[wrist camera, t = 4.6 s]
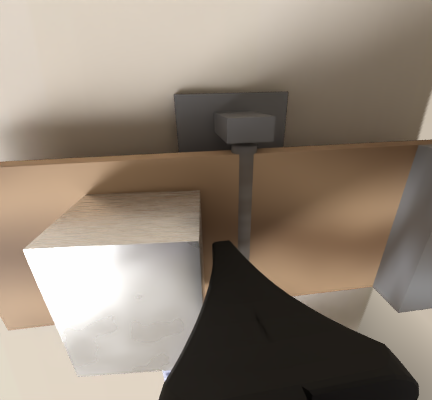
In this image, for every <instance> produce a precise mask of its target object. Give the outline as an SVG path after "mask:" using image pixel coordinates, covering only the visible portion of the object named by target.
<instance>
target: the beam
mask: <svg viewBox="0 0 432 400" xmlns="http://www.w3.org/2000/svg"><path fill="white" fill-rule="evenodd" d="M192 190H200V204H201V224H202V243H203V262H204V282H205V296H206V293H207V289H208V286H209V281H210V277H211V273H212V266H213V258H212V244H213V243H214V242H217V241H227V240H230V241H231V242H232V243H233V244H234V246H235V247H236V248H237V249H238V250H239V251H240V252H241V253H242V254H243V255H244V256H245V257H246V259H247V260H248V261H249V262H251V263H252V264H253V265H254V266H255V267H256V268H257V269H258V270H259V271H260V272H261V273H262V274H263V275H265V276H266V277H267V278H268V279H269V280H270V281H272V282H273V283H274V284H275V285H277V286H278V287H279V288H281V289H282V290H284V291H285V292H286V293H288V294H289V295H291V296H299V295H307V294H315V293H324V292H332V291H340V290H349V289H357V288H365V287H373V288H374V289H376V291H377V292H378V293H379V294H381V296H382V297H383V298H384V299H385V300H386V301H387V302H388V303H389V304H390V305H391V306H392V307H393V308H394V309H395V310H396V311H397V312H398V313H400V312H408V311H415V310H423V309H429V308H432V140H415V141H396V142H376V143H357V144H337V145H318V146H298V147H279V148H259V149H257V144H254V143H235V144H232V145H231V150H220V151H201V152H181V153H162V154H142V155H123V156H103V157H84V158H64V159H45V160H25V161H6V162H0V317H1V318H2V320H3V322H4V324H5V325H6V327H7V329H8V330H16V329H24V328H32V327H41V326H49V325H55V323H54V321H53V318H52V316H51V314H50V311H49V309H48V307H47V304H46V302H45V300H44V297H43V295H42V293H41V291H40V288H39V286H38V284H37V281H36V279H35V277H34V274H33V272H32V270H31V267H30V265H29V263H28V260H27V258H26V256H25V253H24V251H23V249H24V248H25V247H26V246H28V245H29V244H30V243H31V242H32V241H33V240H34V239H36V238H37V237H38V236H39V235H40V234H41V233H42V232H43V231H45V230H46V229H47V228H48V227H49V226H50V225H51V224H53V223H54V222H55V221H56V220H57V219H58V218H59V217H61V216H62V215H63V214H64V213H65V212H66V211H67V210H69V209H70V208H71V207H72V206H73V205H74V204H75V203H77V202H78V201H79V200H80V199H81V198H82V197H83V196H85V195H90V194H116V193H141V192H167V191H192Z"/></svg>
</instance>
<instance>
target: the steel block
mask: <svg viewBox="0 0 432 400" xmlns="http://www.w3.org/2000/svg"><path fill="white" fill-rule="evenodd" d="M23 251H24V253H25V256H26V258H27V260H28V263H29V265H30V267H31V270H32V272H33V274H34V277H35V279H36V281H37V284H38V286H39V288H40V291H41V293H42V295H43V297H44V300H45V302H46V304H47V307H48V309H49V311H50V314H51V316H52V318H53V321H54V323H55V325H56V328H57V330H58V332H59V335H60V337H61V339H62V342H63V344H64V346H65V348H66V351H67V353H68V355H69V358H70V360H71V362H72V365H73V367H74V369H75V372H76V374H77V376H78V377H83V376H97V375H111V374H125V373H138V372H152V371H166V370H172V368H173V367H174V365H175V363H176V361H177V360H178V358H179V356H180V354H181V352H182V350H183V348H184V346H185V344H186V342H187V340H188V338H189V336H190V334H191V332H192V330H193V328H194V325H195V323H196V321H197V318H198V316H199V313H200V311H201V308H202V305H203V302H204V299H205V282H204V262H203V243H202V224H201V204H200V190H192V191H167V192H141V193H116V194H90V195H85V196H83V197H82V198H81V199H80V200H79V201H78V202H77V203H75V204H74V205H73V206H72V207H71V208H70V209H69V210H67V211H66V212H65V213H64V214H63V215H62V216H61V217H59V218H58V219H57V220H56V221H55V222H54V223H53V224H51V225H50V226H49V227H48V228H47V229H46V230H45V231H43V232H42V233H41V234H40V235H39V236H38V237H37V238H36V239H34V240H33V241H32V242H31V243H30V244H29V245H28V246H26V247H25V248H24V249H23Z"/></svg>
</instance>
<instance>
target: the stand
mask: <svg viewBox="0 0 432 400" xmlns="http://www.w3.org/2000/svg"><path fill="white" fill-rule="evenodd" d="M174 101H175V113H176V124H177V136H178V147H179V153H181V152H201V151H220V150H231V145H232V144H235V143H254V144H257V149H259V148H279V147H283V144H284V133H285V122H286V111H287V101H288V92H252V93H214V94H175V95H174Z"/></svg>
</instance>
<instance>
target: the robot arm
mask: <svg viewBox="0 0 432 400" xmlns="http://www.w3.org/2000/svg"><path fill="white" fill-rule="evenodd" d="M212 258H213V266H212V273H211V277H210V281H209V286H208V289H207V293H206V296H205V299H204V302H203V305H202V308H201V311H200V313H199V316H198V318H197V321H196V323H195V325H194V328H193V330H192V332H191V334H190V336H189V338H188V340H187V342H186V344H185V346H184V348H183V350H182V352H181V354H180V356H179V358H178V360H177V361H176V363H175V365H174V367H173V368H172V370H166V371H163V375H164V381H165V382H164V384H163V388H162V391H161V394H160V397H159V400H417V398H418V396H419V386H418V383H417V382H416V380H415V379H414V378H413V377H412V375H411V374H410V373H409V372H408V371H407V369H406V368H405V367H404V366H403V364H402V363H401V362H400V361H399V359H398V358H397V357H396V356H395V355H394V354H393V353H392V352H391V351H390V349H389V348H387V347H386V345H385V344H383V343H380V342H378V341H376V340H373V339H371V338H369V337H367V336H365V335H362V334H360V333H358V332H356V331H353V330H351V329H349V328H347V327H345V326H343V325H341V324H339V323H337V322H335V321H333V320H331V319H329V318H327V317H325V316H324V315H322V314H320V313H318V312H316V311H315V310H313V309H311V308H310V307H308V306H306V305H305V304H303V303H301V302H300V301H298V300H297V299H295V298H294V297H292V296H291V295H289V294H288V293H286V292H285V291H284V290H282V289H281V288H279V287H278V286H277V285H275V284H274V283H273V282H272V281H270V280H269V279H268V278H267V277H266V276H265V275H263V274H262V273H261V272H260V271H259V270H258V269H257V268H256V267H255V266H254V265H253V264H252V263H251V262H249V261H248V260H247V259H246V257H245V256H244V255H243V254H242V253H241V252H240V251H239V250H238V249H237V248H236V247H235V246H234V244H233V243H232V242H231V241H230V240H227V241H217V242H214V243H213V244H212Z"/></svg>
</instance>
